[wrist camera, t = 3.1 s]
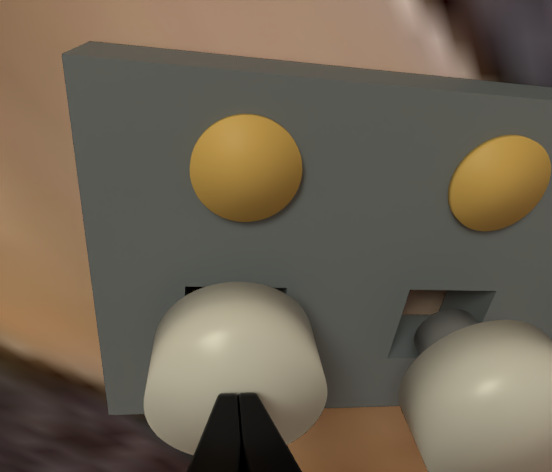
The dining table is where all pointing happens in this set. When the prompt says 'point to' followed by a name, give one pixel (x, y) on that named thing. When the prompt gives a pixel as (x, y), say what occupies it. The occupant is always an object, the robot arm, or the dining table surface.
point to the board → (306, 201)
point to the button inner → (233, 361)
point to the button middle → (480, 395)
